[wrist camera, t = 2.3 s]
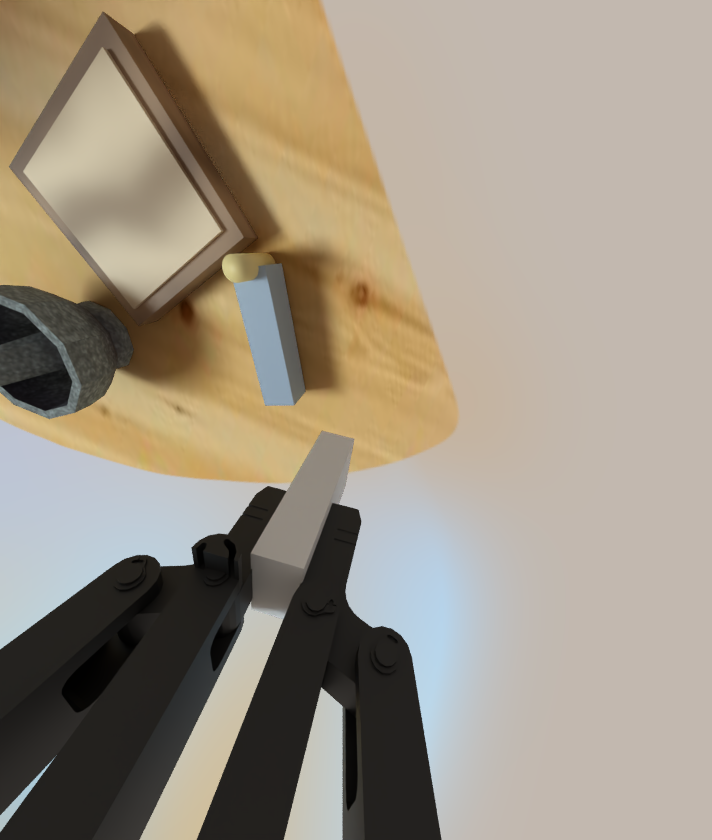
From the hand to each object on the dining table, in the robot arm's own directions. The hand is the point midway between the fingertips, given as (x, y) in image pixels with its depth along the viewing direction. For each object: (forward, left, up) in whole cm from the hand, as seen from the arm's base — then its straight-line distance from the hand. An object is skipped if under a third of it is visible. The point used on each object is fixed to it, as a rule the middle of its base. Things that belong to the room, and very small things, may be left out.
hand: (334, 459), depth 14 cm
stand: (-18, -9, -13) cm, 24 cm away
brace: (-6, -5, -12) cm, 15 cm away
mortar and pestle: (-14, -22, -13) cm, 29 cm away
